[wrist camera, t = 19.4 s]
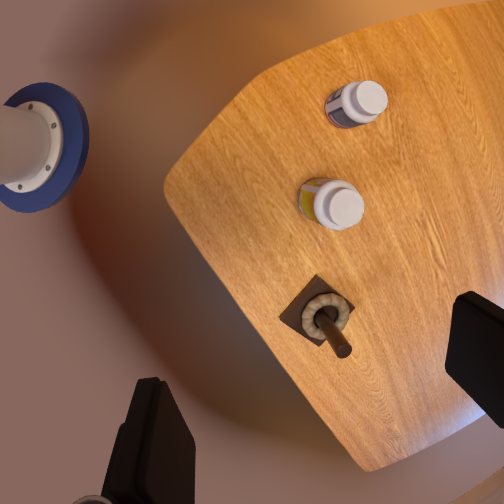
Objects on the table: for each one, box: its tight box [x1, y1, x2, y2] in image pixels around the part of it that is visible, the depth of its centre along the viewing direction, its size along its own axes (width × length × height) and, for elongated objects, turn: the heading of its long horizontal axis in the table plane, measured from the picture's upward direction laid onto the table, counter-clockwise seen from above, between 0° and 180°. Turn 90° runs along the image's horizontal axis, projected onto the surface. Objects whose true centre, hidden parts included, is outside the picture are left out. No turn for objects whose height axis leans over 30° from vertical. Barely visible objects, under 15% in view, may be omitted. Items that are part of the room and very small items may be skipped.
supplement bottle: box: [298, 178, 364, 230], centre depth 35 cm, size 6×6×10 cm
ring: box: [302, 293, 349, 340], centre depth 42 cm, size 7×7×2 cm
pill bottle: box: [325, 80, 388, 129], centre depth 33 cm, size 5×5×9 cm
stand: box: [279, 275, 355, 358], centre depth 39 cm, size 8×8×11 cm
